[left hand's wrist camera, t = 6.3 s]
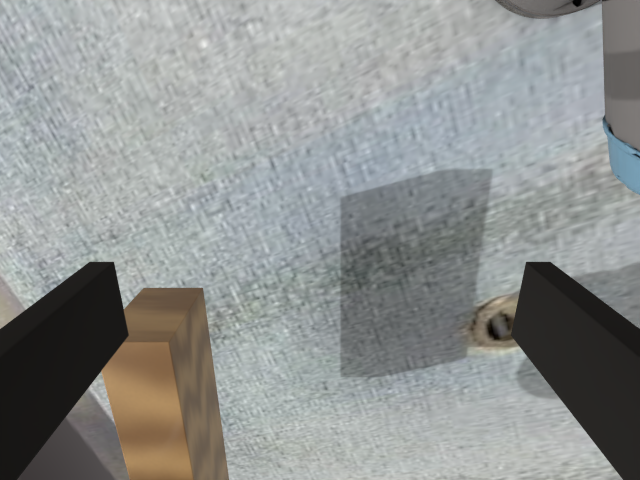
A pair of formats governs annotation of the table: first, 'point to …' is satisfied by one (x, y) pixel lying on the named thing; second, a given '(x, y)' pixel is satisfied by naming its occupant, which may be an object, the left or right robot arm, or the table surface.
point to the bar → (167, 389)
